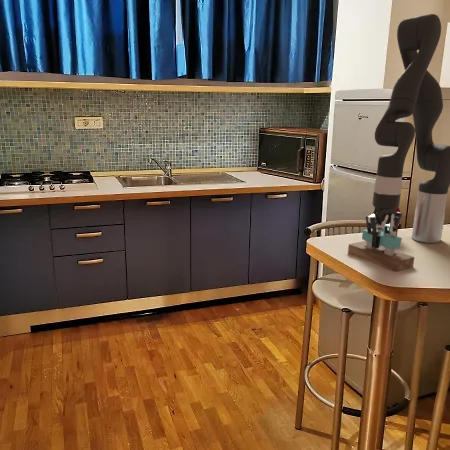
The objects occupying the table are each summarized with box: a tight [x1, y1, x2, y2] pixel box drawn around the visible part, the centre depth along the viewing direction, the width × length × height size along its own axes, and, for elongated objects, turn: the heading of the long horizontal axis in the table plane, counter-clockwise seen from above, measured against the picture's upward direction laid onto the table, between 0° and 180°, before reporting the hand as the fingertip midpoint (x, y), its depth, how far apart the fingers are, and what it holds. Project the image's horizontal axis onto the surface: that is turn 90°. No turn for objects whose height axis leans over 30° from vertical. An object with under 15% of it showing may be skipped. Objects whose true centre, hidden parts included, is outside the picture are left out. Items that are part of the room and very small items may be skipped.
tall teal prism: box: [361, 228, 402, 256], centre depth 137 cm, size 4×11×7 cm, turn 32°
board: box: [347, 240, 415, 272], centre depth 137 cm, size 8×18×3 cm, turn 32°
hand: (380, 246), depth 137 cm, fingers closed on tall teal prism, 4 cm apart
